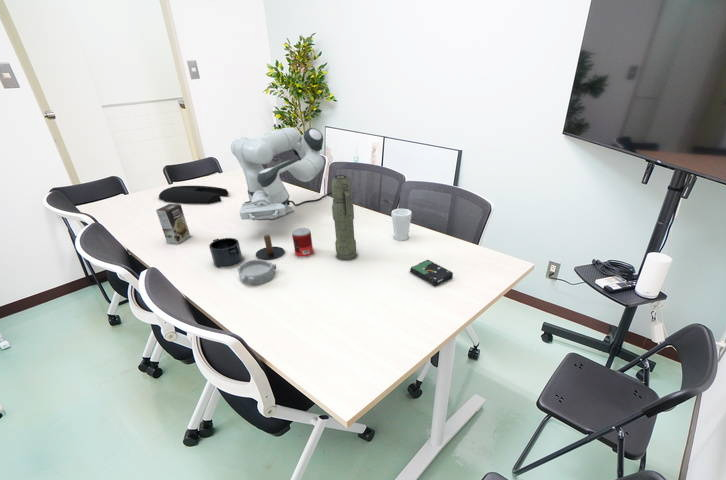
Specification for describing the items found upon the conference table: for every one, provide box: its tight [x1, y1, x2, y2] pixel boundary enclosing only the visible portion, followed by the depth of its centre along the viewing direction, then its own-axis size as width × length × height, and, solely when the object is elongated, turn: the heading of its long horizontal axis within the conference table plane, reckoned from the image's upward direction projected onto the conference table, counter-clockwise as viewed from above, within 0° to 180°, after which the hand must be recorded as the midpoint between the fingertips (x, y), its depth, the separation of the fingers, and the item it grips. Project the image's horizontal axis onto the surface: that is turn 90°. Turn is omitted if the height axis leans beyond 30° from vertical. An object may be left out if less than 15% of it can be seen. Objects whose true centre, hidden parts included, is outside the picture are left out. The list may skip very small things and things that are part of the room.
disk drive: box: [409, 259, 454, 287], centre depth 159 cm, size 10×3×15 cm
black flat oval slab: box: [158, 185, 229, 205], centre depth 234 cm, size 25×41×5 cm, turn 82°
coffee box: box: [155, 203, 191, 245], centre depth 181 cm, size 9×6×16 cm
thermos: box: [331, 174, 357, 261], centre depth 163 cm, size 9×12×35 cm
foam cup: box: [390, 208, 413, 241], centre depth 186 cm, size 10×9×13 cm
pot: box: [208, 237, 244, 269], centre depth 165 cm, size 11×17×8 cm
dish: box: [237, 258, 277, 286], centre depth 155 cm, size 14×14×5 cm
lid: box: [255, 234, 286, 261], centre depth 171 cm, size 12×12×9 cm
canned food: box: [291, 227, 314, 258], centre depth 171 cm, size 8×8×11 cm
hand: (264, 217), depth 176 cm, fingers open, 8 cm apart
